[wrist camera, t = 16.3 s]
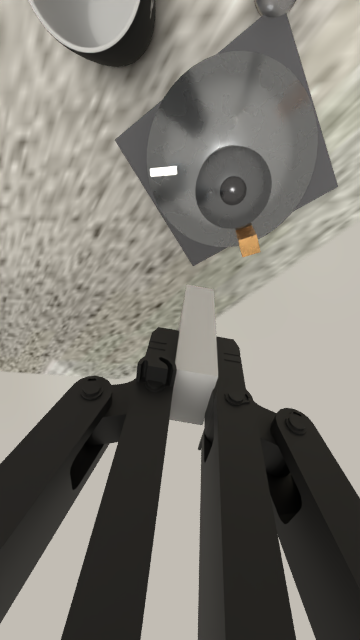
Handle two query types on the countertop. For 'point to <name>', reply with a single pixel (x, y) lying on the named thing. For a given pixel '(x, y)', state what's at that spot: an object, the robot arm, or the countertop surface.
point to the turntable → (232, 141)
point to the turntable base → (259, 37)
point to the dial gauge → (273, 7)
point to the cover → (233, 186)
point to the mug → (99, 27)
